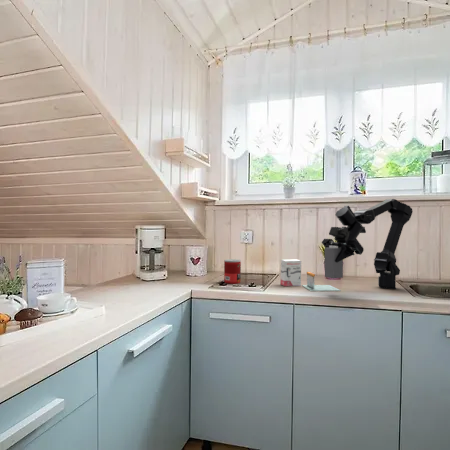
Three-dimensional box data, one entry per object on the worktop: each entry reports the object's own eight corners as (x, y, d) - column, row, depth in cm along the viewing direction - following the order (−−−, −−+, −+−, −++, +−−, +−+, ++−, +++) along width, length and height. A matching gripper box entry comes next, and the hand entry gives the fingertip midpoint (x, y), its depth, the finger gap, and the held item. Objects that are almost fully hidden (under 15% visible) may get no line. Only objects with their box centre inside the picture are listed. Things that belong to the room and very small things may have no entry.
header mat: (329, 285, 163) (329, 284, 163) (340, 290, 150) (340, 290, 150) (302, 285, 162) (302, 285, 162) (310, 291, 150) (310, 290, 150)
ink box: (284, 286, 161) (284, 260, 161) (280, 284, 165) (280, 259, 165) (301, 285, 163) (302, 260, 163) (296, 284, 168) (296, 259, 168)
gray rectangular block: (333, 275, 147) (333, 245, 147) (342, 277, 143) (342, 246, 143) (324, 276, 145) (324, 245, 145) (333, 278, 141) (333, 246, 141)
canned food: (240, 284, 167) (240, 260, 167) (224, 283, 167) (224, 260, 167) (240, 281, 175) (240, 259, 175) (224, 281, 175) (224, 259, 175)
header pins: (310, 286, 160) (310, 271, 160) (315, 289, 152) (315, 274, 152) (306, 286, 160) (306, 271, 160) (311, 289, 152) (311, 274, 152)
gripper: (324, 220, 154) (305, 246, 149) (358, 219, 137) (337, 249, 133) (338, 237, 158) (319, 263, 153) (372, 239, 141) (352, 268, 136)
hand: (331, 261), depth 143 cm, fingers closed on gray rectangular block, 5 cm apart
